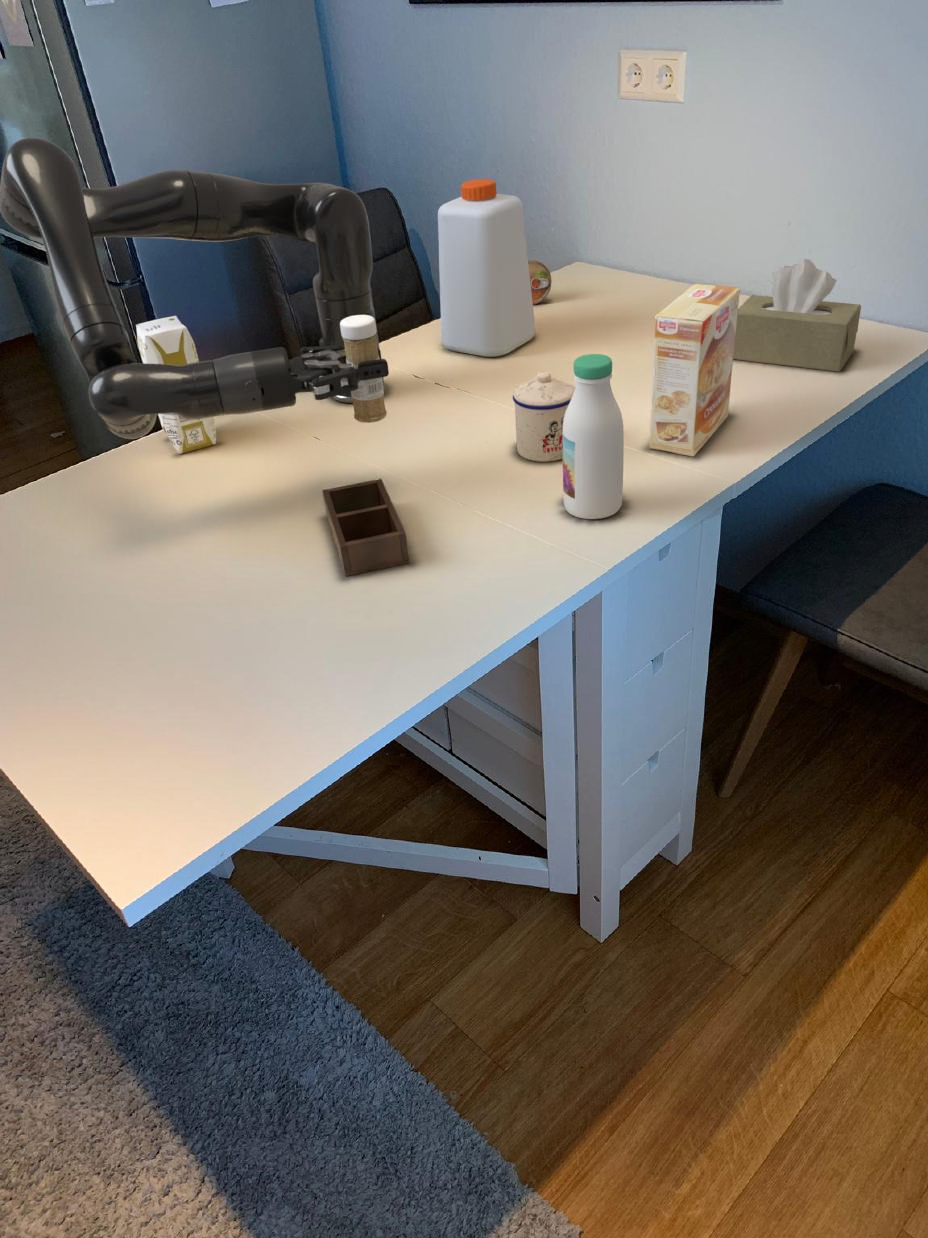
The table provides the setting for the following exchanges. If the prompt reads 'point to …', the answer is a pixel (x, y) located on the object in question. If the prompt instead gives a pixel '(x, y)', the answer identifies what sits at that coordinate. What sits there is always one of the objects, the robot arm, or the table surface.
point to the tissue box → (797, 322)
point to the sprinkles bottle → (360, 349)
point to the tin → (539, 281)
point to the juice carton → (175, 347)
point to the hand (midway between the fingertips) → (383, 360)
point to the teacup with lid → (541, 417)
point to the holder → (365, 527)
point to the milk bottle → (593, 442)
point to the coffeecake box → (693, 367)
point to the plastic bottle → (484, 272)
